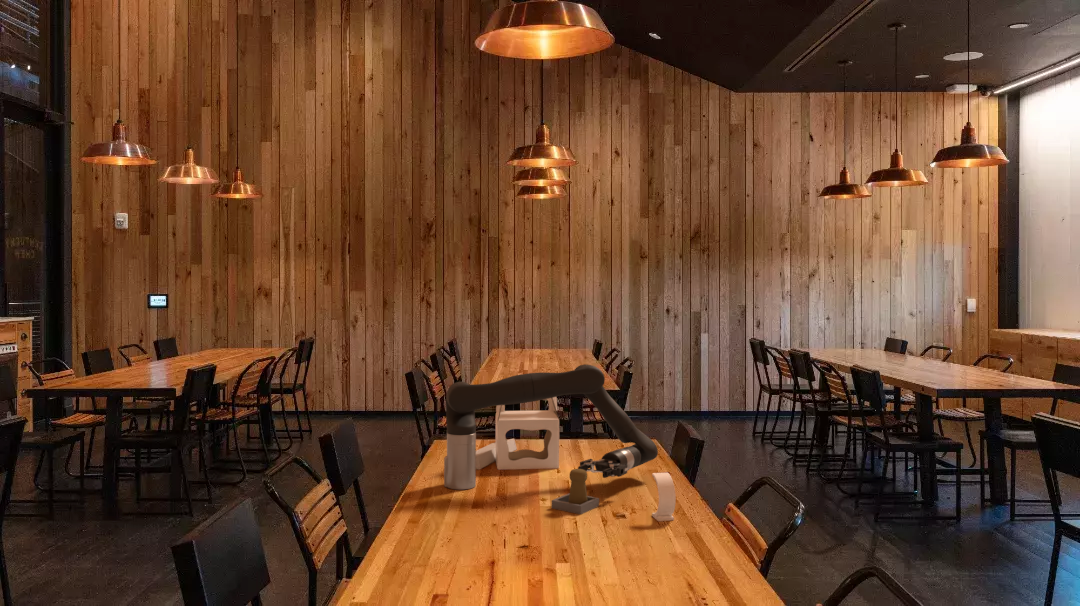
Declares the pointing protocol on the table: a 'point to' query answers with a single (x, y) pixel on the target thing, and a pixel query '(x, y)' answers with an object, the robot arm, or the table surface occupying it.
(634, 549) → the table surface
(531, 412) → the gable box
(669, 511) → the white curved bracket
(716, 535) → the table surface
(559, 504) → the square frame
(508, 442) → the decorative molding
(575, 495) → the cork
